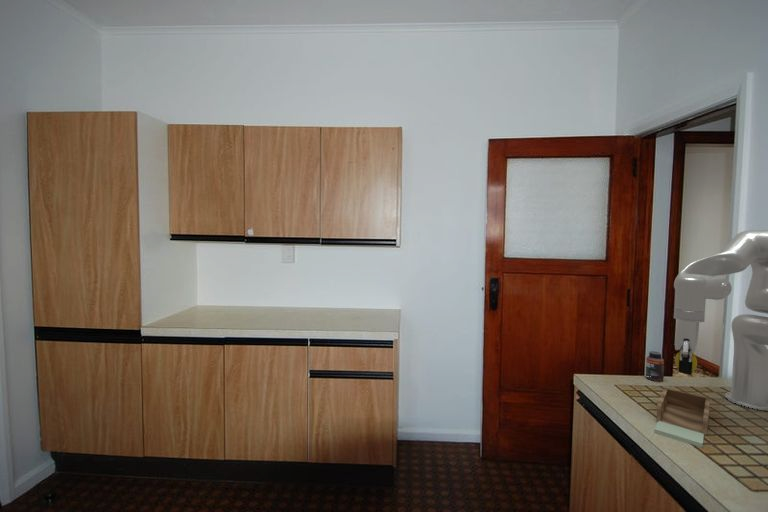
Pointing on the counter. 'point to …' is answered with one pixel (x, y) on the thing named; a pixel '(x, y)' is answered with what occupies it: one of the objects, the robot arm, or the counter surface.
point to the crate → (684, 410)
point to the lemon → (693, 360)
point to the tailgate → (679, 433)
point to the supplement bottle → (655, 366)
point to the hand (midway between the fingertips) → (685, 369)
